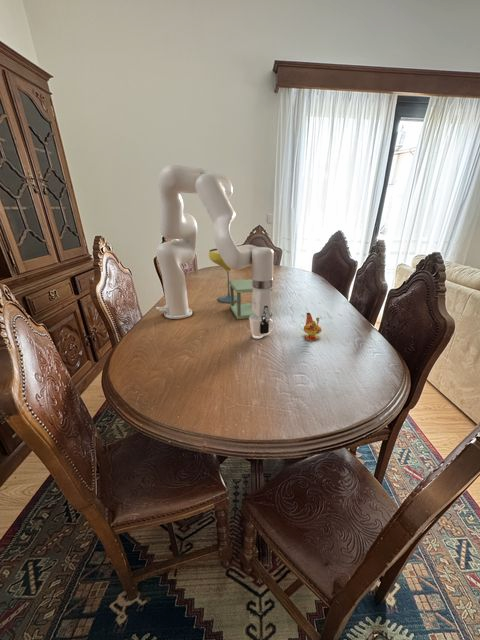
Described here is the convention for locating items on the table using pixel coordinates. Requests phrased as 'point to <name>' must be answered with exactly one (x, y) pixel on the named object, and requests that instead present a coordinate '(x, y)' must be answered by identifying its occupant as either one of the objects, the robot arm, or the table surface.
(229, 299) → the cocktail glass
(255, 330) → the cup
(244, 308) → the shelf
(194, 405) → the table surface
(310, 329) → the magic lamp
